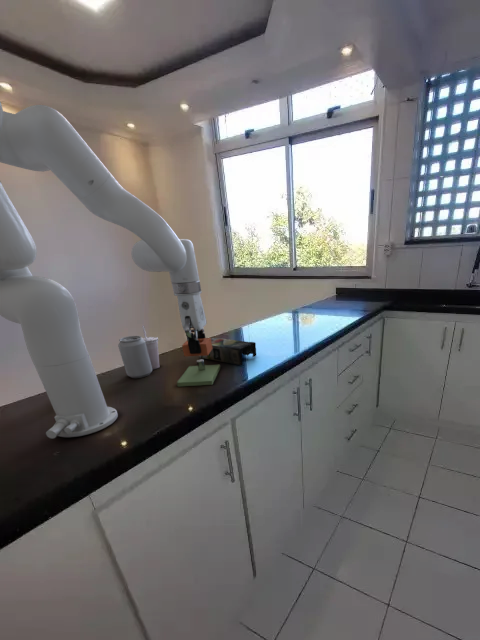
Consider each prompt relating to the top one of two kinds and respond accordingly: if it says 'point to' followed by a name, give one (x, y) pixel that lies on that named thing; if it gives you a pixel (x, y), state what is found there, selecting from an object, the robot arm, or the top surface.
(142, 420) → the top surface
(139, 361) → the can
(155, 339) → the smoothie
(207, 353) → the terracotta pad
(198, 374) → the base pad
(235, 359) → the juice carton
